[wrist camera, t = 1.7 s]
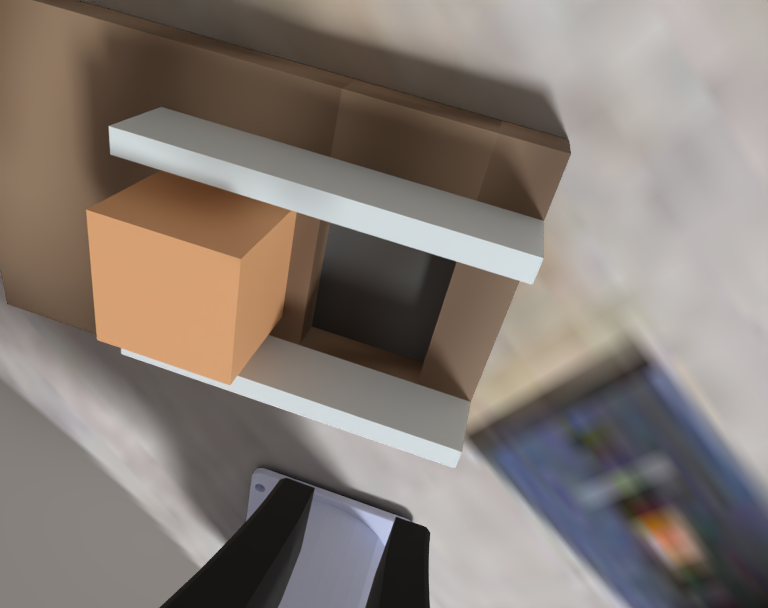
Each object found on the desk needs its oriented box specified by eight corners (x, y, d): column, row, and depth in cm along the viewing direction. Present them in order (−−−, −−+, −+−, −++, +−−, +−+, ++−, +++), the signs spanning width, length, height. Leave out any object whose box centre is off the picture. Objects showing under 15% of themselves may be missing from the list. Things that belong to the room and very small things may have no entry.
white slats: (543, 220, 16) (543, 258, 14) (464, 417, 21) (455, 468, 19) (161, 106, 17) (108, 125, 15) (162, 316, 22) (121, 353, 20)
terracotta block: (282, 316, 20) (230, 385, 17) (169, 279, 21) (97, 340, 17) (297, 204, 18) (240, 259, 15) (170, 165, 18) (85, 209, 15)
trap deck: (568, 139, 16) (571, 154, 15) (454, 427, 23) (449, 454, 22) (-13, -26, 18) (-54, -25, 17) (34, 286, 25) (6, 303, 23)
